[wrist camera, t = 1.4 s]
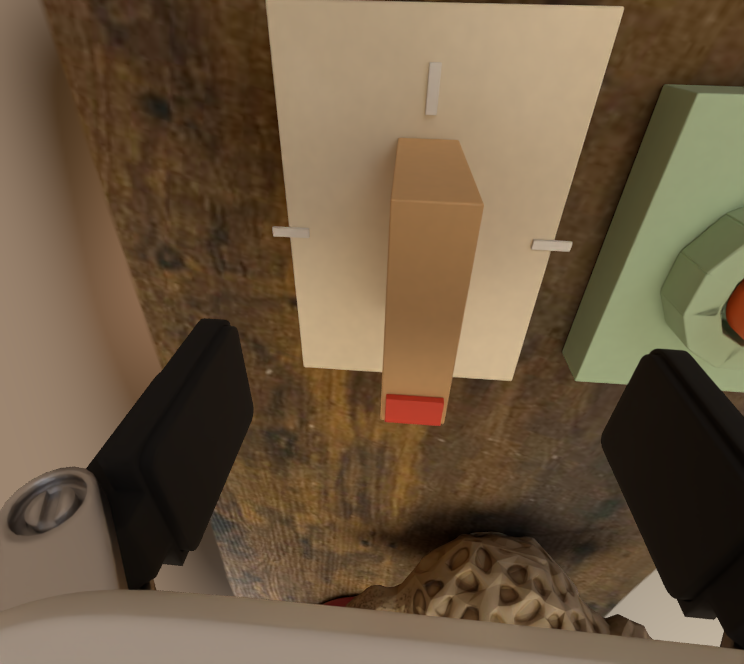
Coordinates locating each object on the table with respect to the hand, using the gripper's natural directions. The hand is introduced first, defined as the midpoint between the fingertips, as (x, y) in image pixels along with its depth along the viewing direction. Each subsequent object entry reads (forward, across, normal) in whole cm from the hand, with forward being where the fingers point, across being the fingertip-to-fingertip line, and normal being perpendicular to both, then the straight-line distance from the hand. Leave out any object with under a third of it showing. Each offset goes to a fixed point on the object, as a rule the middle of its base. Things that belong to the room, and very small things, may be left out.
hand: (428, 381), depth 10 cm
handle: (+7, 0, 0) cm, 7 cm away
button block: (+10, -13, 0) cm, 16 cm away
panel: (+10, 0, 0) cm, 10 cm away
